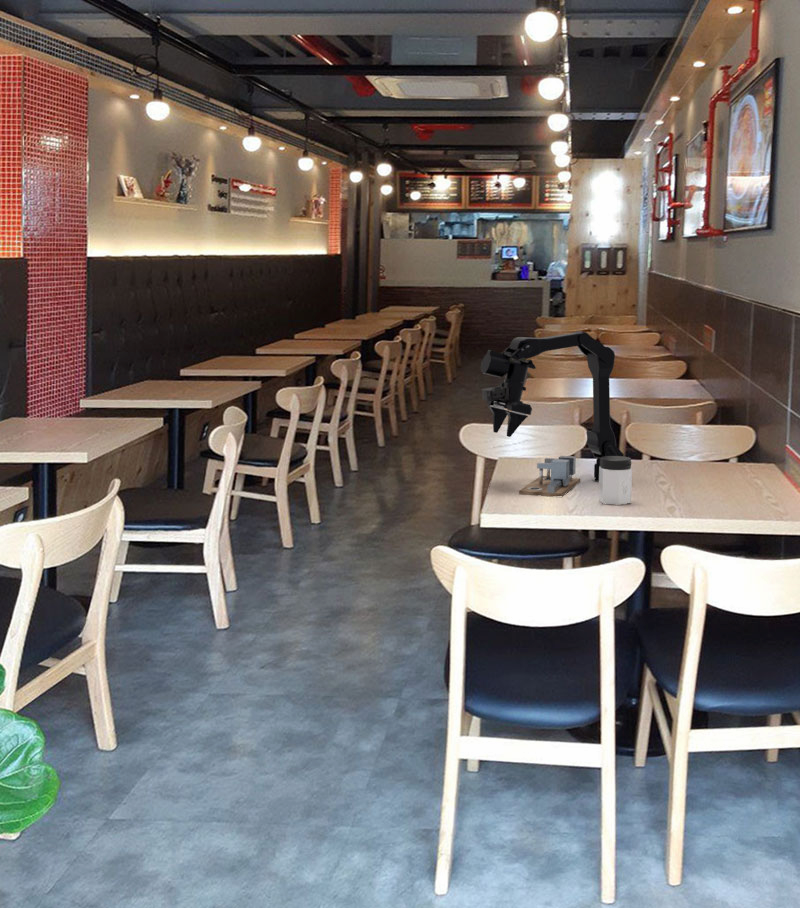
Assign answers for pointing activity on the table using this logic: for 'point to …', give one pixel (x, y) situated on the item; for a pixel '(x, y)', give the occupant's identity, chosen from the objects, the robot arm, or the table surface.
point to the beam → (558, 483)
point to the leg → (555, 470)
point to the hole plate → (541, 489)
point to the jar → (615, 480)
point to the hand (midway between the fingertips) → (501, 434)
